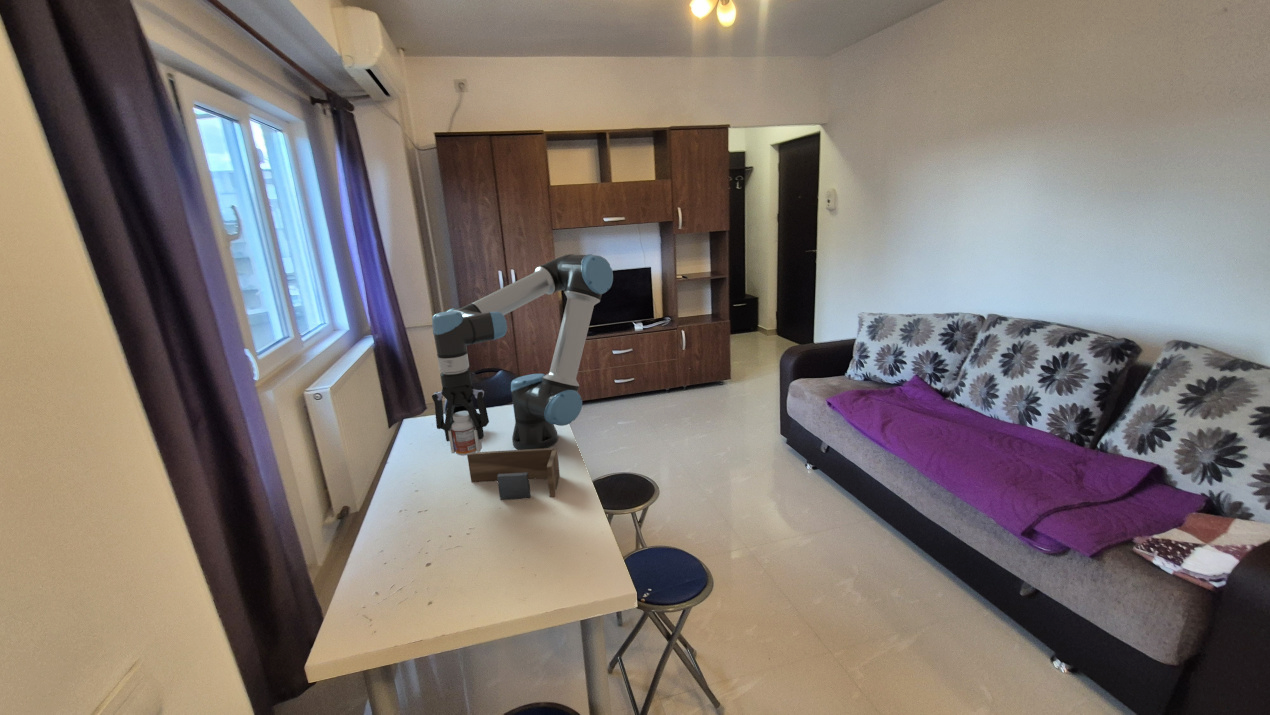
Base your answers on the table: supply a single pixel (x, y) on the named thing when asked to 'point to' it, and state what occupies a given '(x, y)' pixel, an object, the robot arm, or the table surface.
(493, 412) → the table surface
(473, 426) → the pill bottle
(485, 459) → the wooden corner wall
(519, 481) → the dark rectangular block
